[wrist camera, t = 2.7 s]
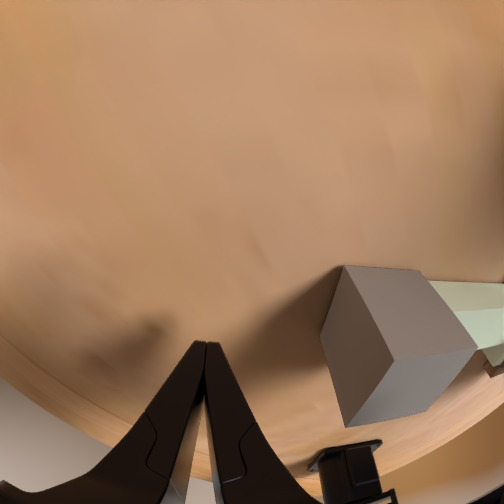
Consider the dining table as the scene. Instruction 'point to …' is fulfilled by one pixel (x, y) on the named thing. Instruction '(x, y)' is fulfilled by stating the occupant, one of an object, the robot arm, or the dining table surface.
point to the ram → (405, 339)
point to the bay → (494, 369)
